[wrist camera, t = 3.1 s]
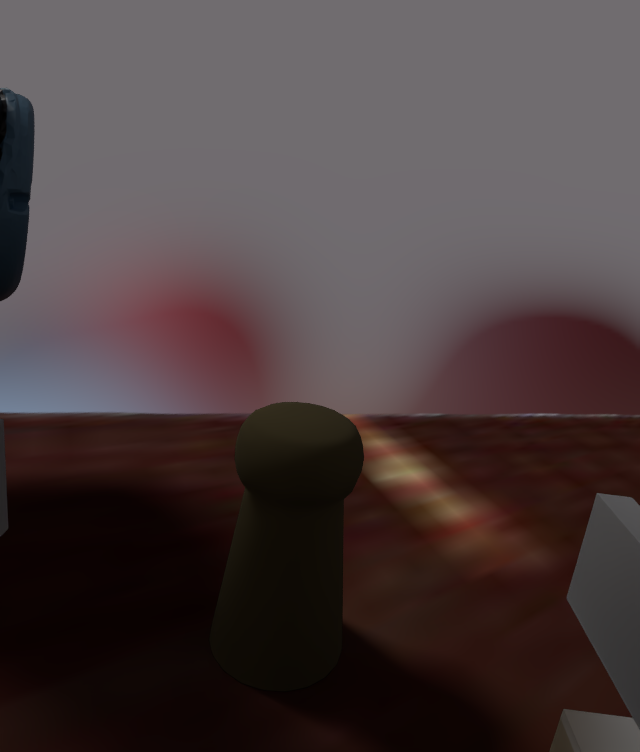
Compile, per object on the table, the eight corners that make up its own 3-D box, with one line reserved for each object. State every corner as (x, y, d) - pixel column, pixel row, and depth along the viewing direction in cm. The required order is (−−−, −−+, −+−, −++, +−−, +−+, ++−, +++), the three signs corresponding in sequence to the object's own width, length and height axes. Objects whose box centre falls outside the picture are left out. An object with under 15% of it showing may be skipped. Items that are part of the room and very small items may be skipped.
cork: (239, 711, 23) (266, 456, 19) (191, 609, 28) (206, 391, 24) (367, 665, 26) (411, 437, 22) (303, 580, 31) (331, 383, 27)
